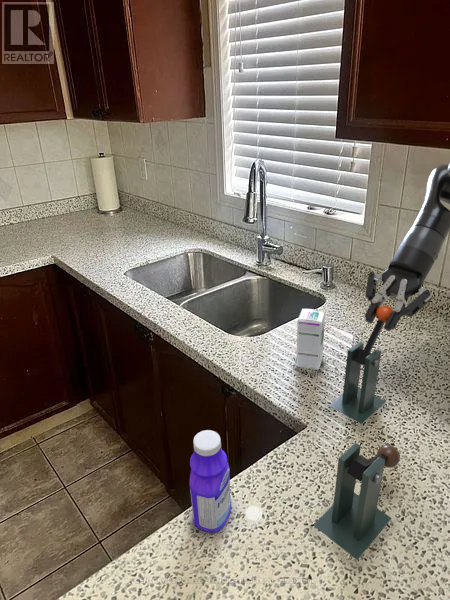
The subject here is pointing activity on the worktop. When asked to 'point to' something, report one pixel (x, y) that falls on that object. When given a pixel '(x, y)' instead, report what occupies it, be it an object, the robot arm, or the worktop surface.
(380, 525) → the bracket
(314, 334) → the syrup box
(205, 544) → the worktop surface
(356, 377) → the bracket
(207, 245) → the worktop surface
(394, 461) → the rod
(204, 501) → the bottle
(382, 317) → the rod
